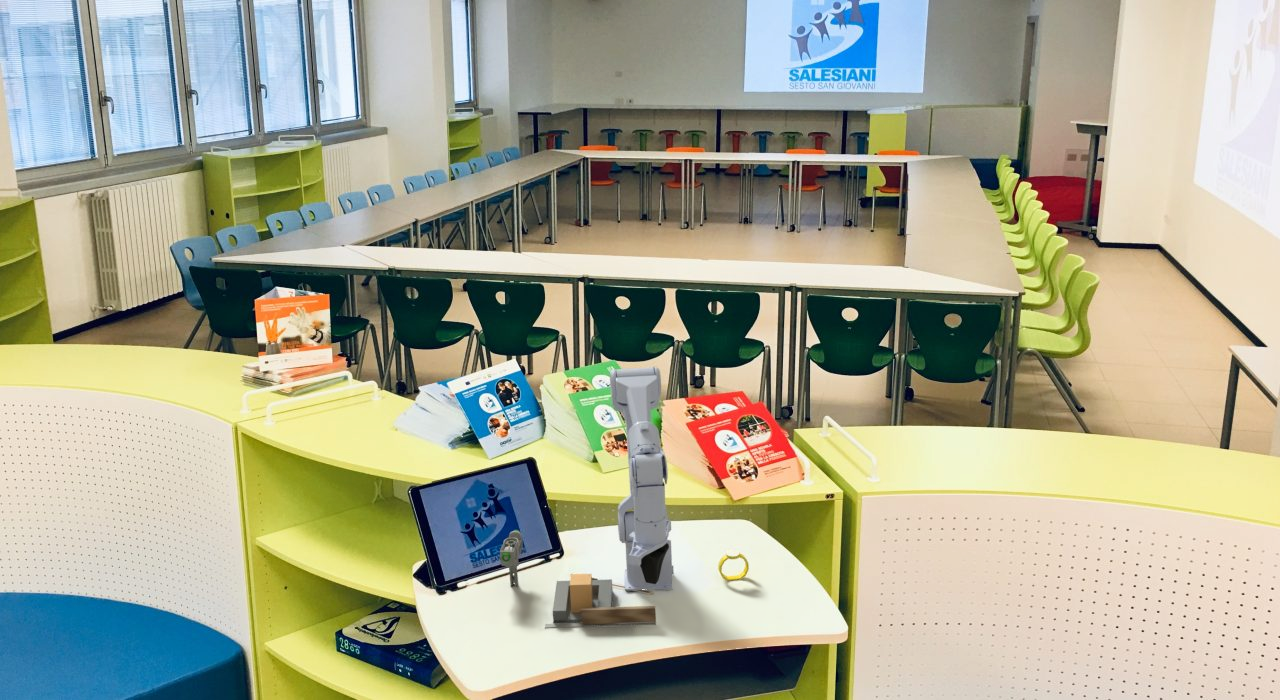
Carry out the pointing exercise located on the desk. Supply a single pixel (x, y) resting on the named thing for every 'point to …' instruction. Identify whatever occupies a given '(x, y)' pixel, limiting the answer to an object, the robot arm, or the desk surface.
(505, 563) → the mechanical component
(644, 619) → the wooden plank
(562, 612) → the housing
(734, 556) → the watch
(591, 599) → the jaw block
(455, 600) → the desk surface
